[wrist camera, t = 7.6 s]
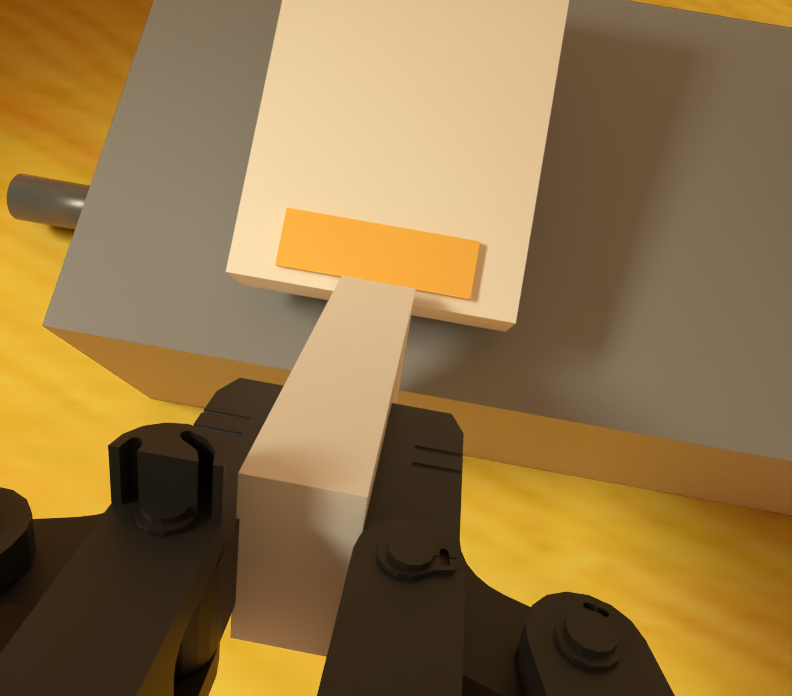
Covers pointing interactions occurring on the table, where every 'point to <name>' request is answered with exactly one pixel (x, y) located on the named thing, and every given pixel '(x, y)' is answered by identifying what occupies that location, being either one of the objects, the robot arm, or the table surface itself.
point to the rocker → (401, 151)
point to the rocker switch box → (545, 265)
